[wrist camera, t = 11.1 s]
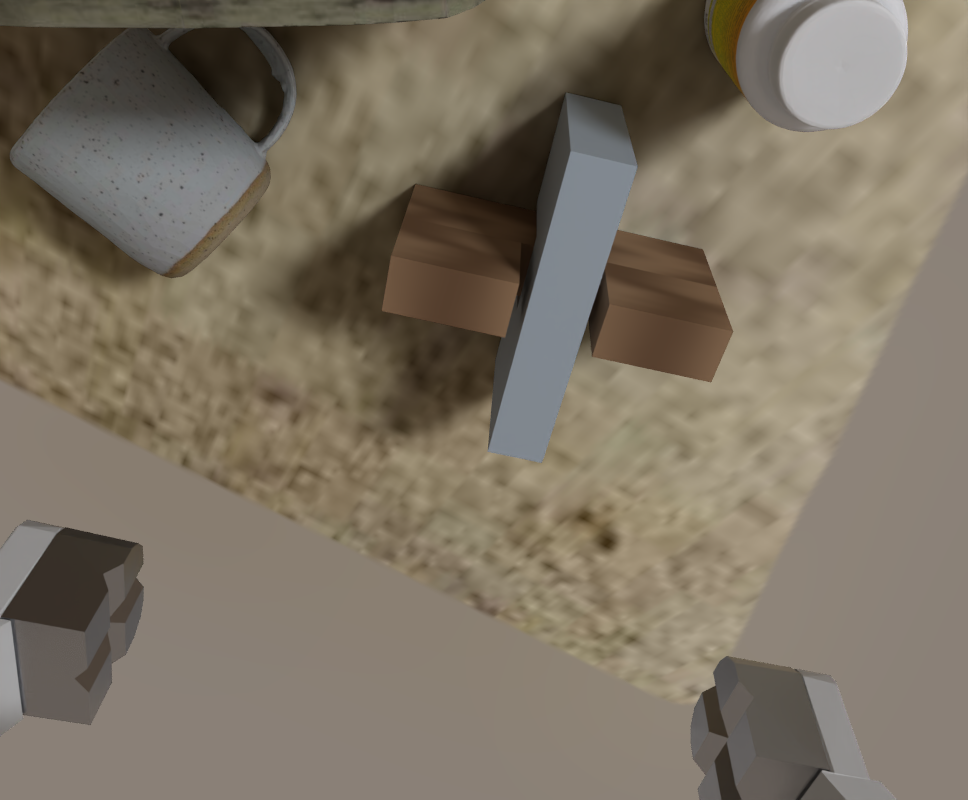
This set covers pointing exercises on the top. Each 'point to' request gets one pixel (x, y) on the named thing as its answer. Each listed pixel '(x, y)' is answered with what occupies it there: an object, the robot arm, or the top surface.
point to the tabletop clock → (222, 12)
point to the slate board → (561, 273)
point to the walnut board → (503, 267)
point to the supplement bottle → (811, 57)
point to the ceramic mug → (152, 151)
